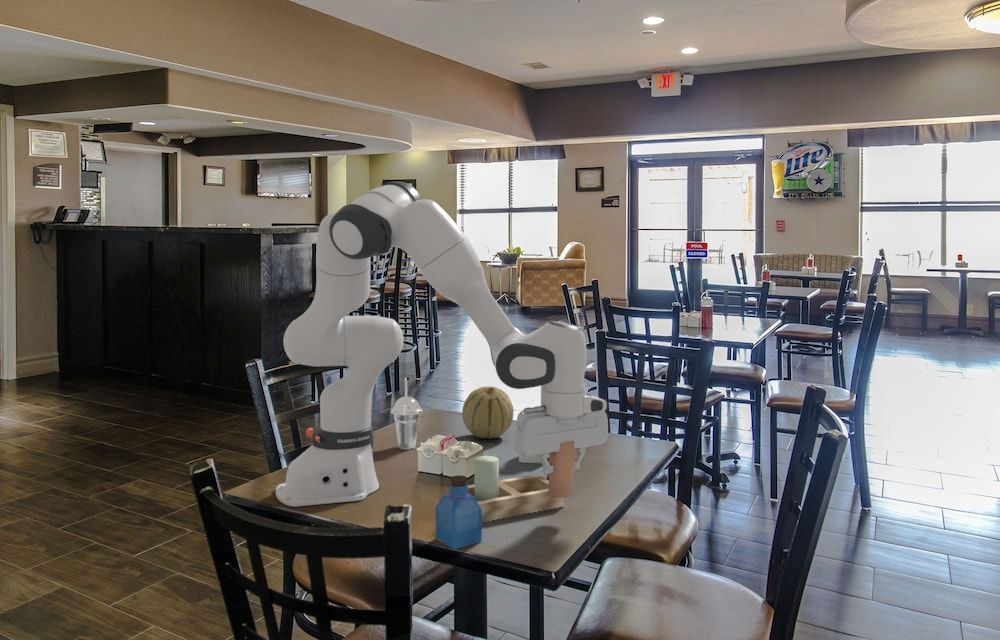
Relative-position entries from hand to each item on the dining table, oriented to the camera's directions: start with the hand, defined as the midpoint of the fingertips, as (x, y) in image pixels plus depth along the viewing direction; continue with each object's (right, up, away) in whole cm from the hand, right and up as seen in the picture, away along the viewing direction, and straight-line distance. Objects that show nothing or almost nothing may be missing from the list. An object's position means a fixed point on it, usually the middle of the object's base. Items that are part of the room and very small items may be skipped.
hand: (561, 470), depth 151 cm
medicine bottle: (-4, -6, +42) cm, 43 cm away
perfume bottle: (-20, -11, -9) cm, 25 cm away
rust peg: (0, -5, +1) cm, 5 cm away
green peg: (-15, -10, +6) cm, 19 cm away
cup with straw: (-37, -4, +52) cm, 65 cm away
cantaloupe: (-16, -3, +63) cm, 65 cm away
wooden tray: (-11, -9, +8) cm, 16 cm away
